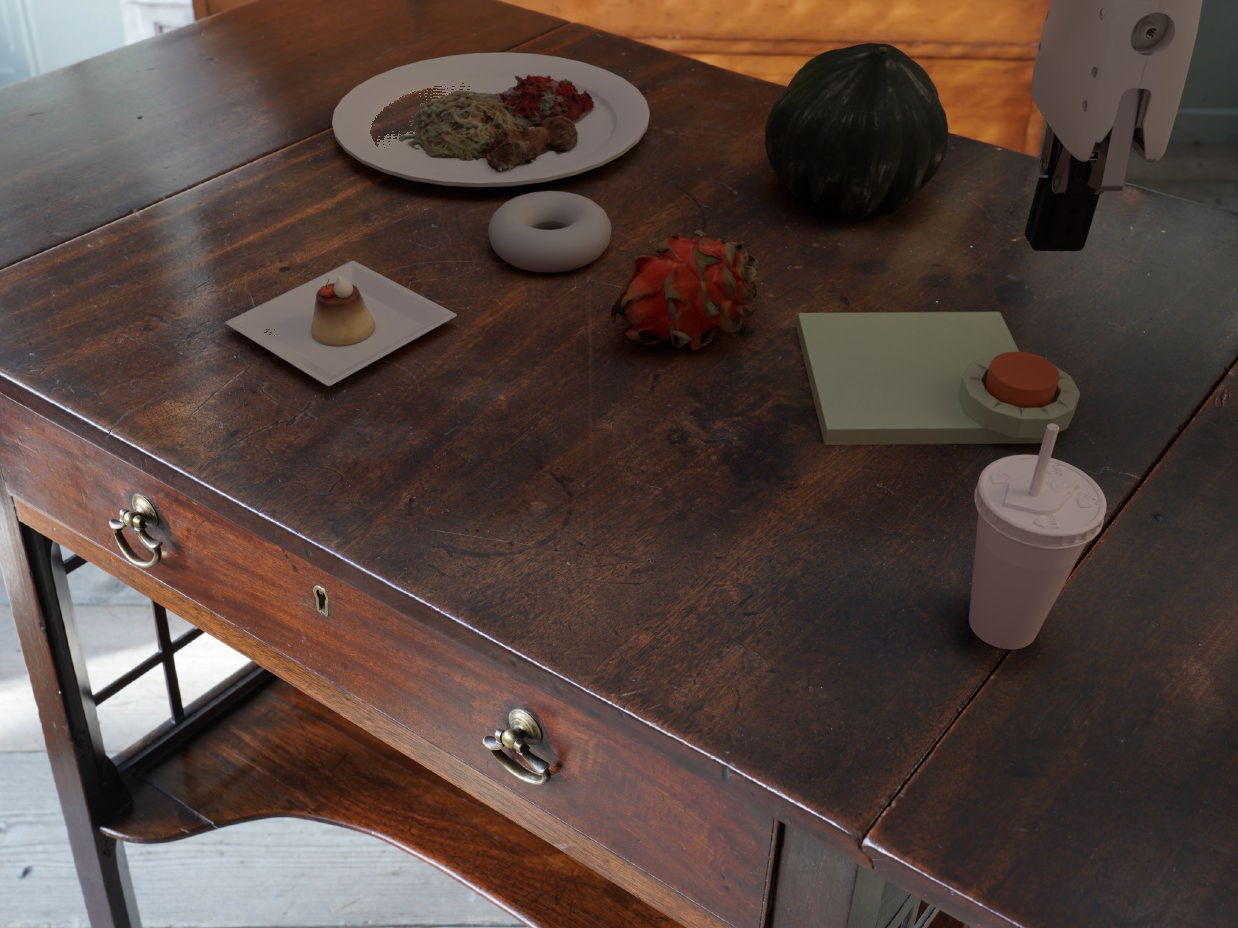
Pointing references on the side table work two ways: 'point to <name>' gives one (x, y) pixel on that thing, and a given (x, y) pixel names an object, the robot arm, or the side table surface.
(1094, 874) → the side table surface
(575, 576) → the side table surface
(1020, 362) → the button
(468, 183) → the plated food
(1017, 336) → the side table surface
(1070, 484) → the smoothie
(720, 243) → the dragon fruit
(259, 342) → the dessert
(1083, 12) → the robot arm
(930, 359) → the scale
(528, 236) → the donut
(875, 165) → the squash
